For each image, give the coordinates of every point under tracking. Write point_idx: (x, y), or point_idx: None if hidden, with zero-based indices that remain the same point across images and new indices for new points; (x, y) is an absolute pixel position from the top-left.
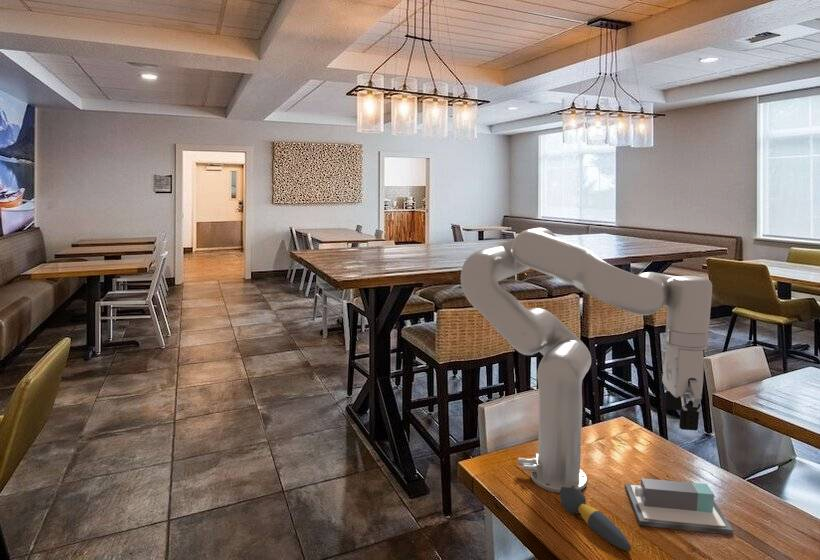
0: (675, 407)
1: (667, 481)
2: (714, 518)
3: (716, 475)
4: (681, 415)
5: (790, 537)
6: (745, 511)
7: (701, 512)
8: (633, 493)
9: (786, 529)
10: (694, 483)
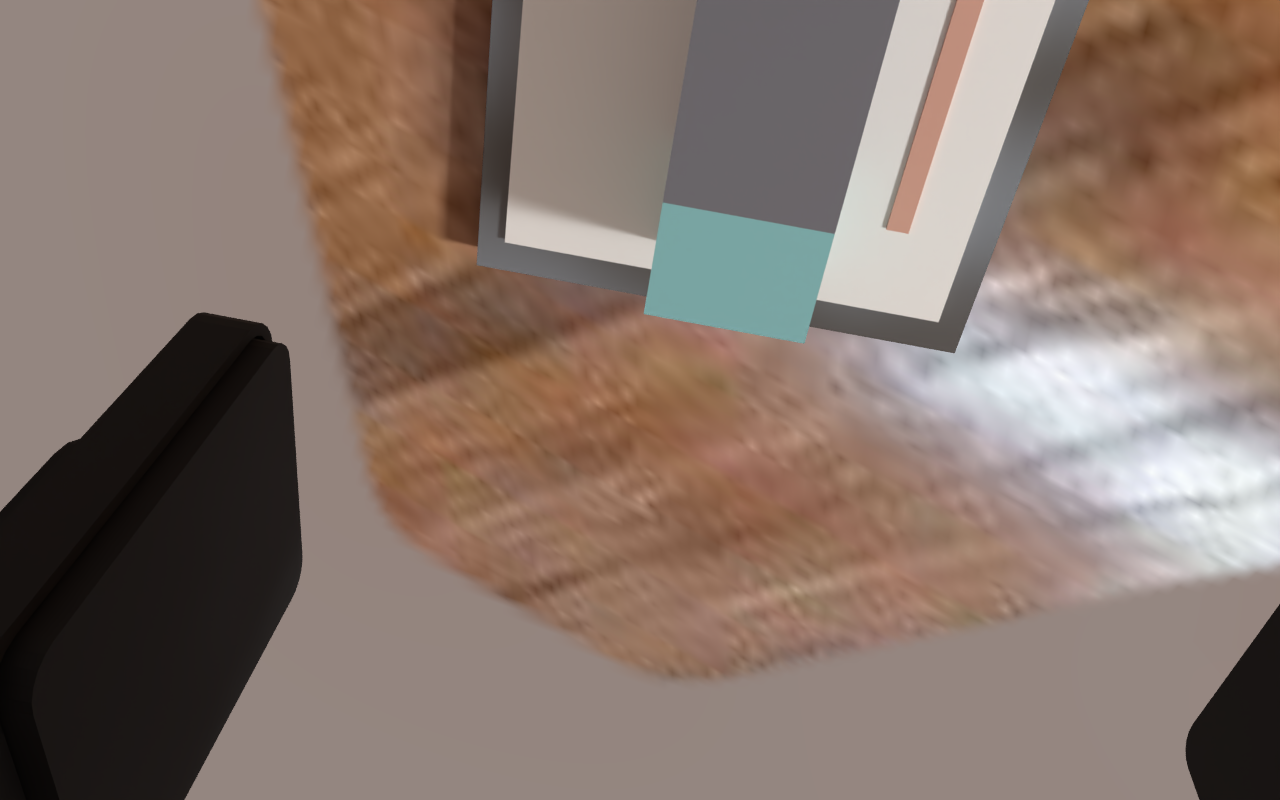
0: (1258, 711)
1: (873, 16)
2: (588, 215)
3: (1174, 520)
4: (16, 533)
5: (498, 515)
6: (736, 450)
7: (659, 164)
8: None
9: (567, 539)
10: (817, 251)
